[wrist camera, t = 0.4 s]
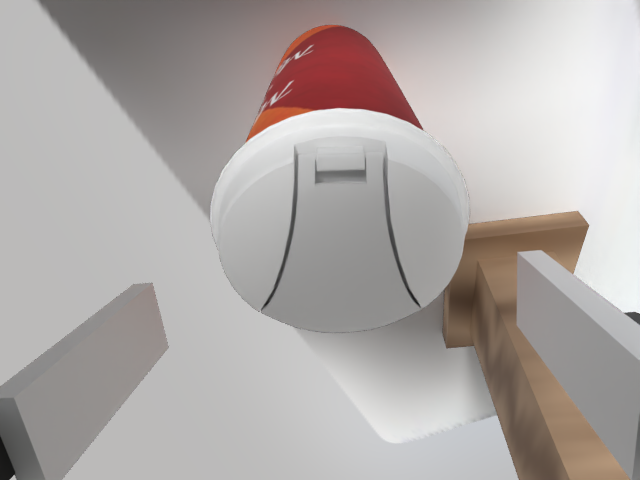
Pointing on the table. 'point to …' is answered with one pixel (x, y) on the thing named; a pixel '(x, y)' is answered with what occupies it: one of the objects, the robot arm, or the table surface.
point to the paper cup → (338, 195)
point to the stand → (523, 348)
